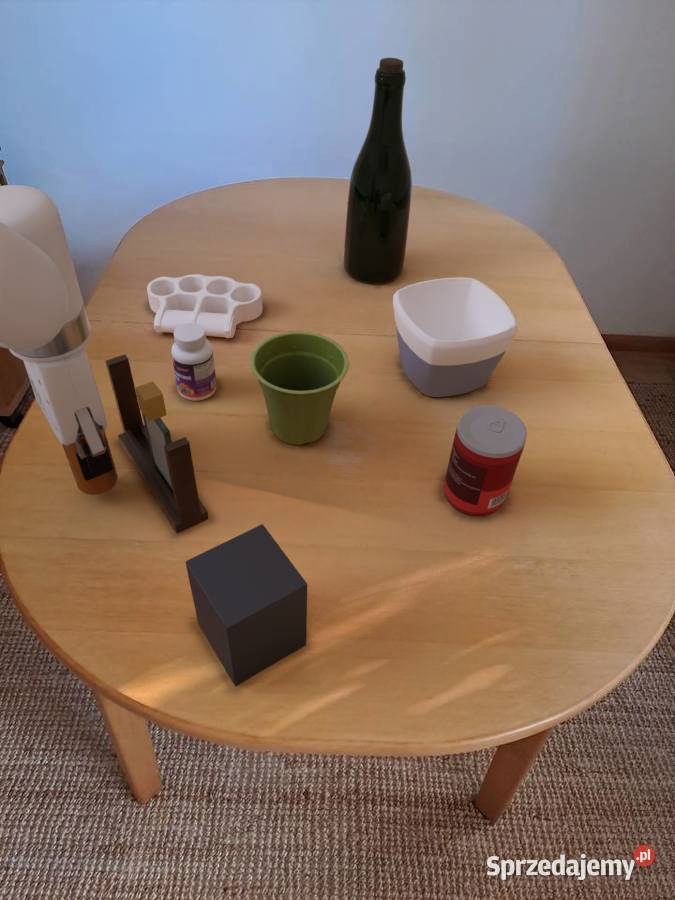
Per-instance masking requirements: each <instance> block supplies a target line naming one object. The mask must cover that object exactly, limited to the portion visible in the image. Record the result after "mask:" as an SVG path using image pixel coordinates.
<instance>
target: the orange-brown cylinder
mask: <svg viewBox="0 0 675 900" xmlns="http://www.w3.org/2000/svg"><path fill="white" fill-rule="evenodd" d="M79 427H80V426H79ZM79 427H78V428H79ZM100 431H101V434H102V437H103V440H104V442H105V444H106V446H107V449H108V452H109V456H110V459H111V463H112V466H113V470H112V471H110V472H108V473H106V474H103V475H101V476H98V477H96V478H93V479H91V480H88V481H86V480H85V479H84V477H83V475H82V472H81V469H80V466H79V463H78V460H77V457H76V455H75V453H78V452H77V449H76V446H75V444H74V443H72V444H69V445H64V444H62V443H61V445H62V447H63V451H64V452H65V457H66V459H67V461H68V465H69V468H70V470H71V472H72V473H71V474H72V475H73V479H74V481H75V484H76V486H77V489H78V490H79V491H80V492H81V493H83V494H85V495H89V496H97V495H101V494H104V493H106V492H109V491H110V490H111V489H113V488H114V487H115V485H116V484H117V482H118V479H119V476H118V475H119V474H118V472H117V467H116V464H115V461H114V457H113V454H112V451H111V447H110V444H109V441H108V436H107V434H106V430H105V431H102V430H100ZM79 439H80V442H81V444H82V446H83V445H86V444H87V442H86V440H85V438H84V437H81V438H79Z"/></svg>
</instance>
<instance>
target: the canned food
mask: <svg viewBox="0 0 675 900" xmlns="http://www.w3.org/2000/svg"><path fill="white" fill-rule="evenodd" d="M527 437H528V432H527V427H526V425H525V423H524V421H523V420H522V419H521V417H519V416H518V415H517V414H515V413H514V412H512V411H511V410H509V409H507V408H504V407H501V406H496V405H489V404H488V405H487V404H485V405H478V406H474V407H472V408H471V407H470V408H469V409H467V410H466V411H465V412H463V413H462V414H461V416H460V417H459V420H458V422H457V426H456V429H455V433H454V438H453V442H452V447H451V451H450V456H449V459H448V463H447V468H446V472H445V477H444V481H443V490H444V495H445V499H446V500H447V502H448V503H449V504H450V506H452V507H453V509H455V510H456V511H459V512H460V513H462V514H465V515H468V516H473V517H482V516H483V517H484V516H488V515H491V514H493V513H495V512H496V511H497V510H498V509H500V508H501V507H502V505H503V504H504V503H505V501H506V499H507V496H508V494H509V491H510V489H511V485H512V483H513V479H514V476H515V473H516V472H517V468H518V465H519V463H520V460H521V457H522V454H523V451H524V448H525V445H526V442H527Z"/></svg>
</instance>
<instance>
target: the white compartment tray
mask: <svg viewBox="0 0 675 900" xmlns="http://www.w3.org/2000/svg"><path fill="white" fill-rule="evenodd" d="M146 292H147V293H146V294H147V297H148V303H149V307H150V309H151V311H152V312H153V313H155V316H154V320H153V330H154V332H156V333H171V334H174V330H175V329H176V328H177V327H178V326H180V325H182V324H185V323H196V324H199V325H201V326H202V327H203V328H204V330H205V335H206V337H219V338H226V339H231V338H234V336H235V333H236V329H237V325H239V324H241V323H245V322H251V321H254V320H256V319H258V318H259V317H260V316H261V315H262V313H263V311H264V310H263V309H264V307H263V292H262V289H261V288H260V287H259V285H257V284H255V283H252V282H250V283H247V282H246V283H245V282H239V281H237V280H234V279H233V278H231V277H228V276H223V275H217V276H216V275H215V276H211V275H203V274H201V273H194V274H187V275H183V276H179V277H170V276H164V275H163V276H159V277H157V278H154V279H153V280H151V281H150V282H149V283H148V284H147V286H146Z"/></svg>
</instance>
